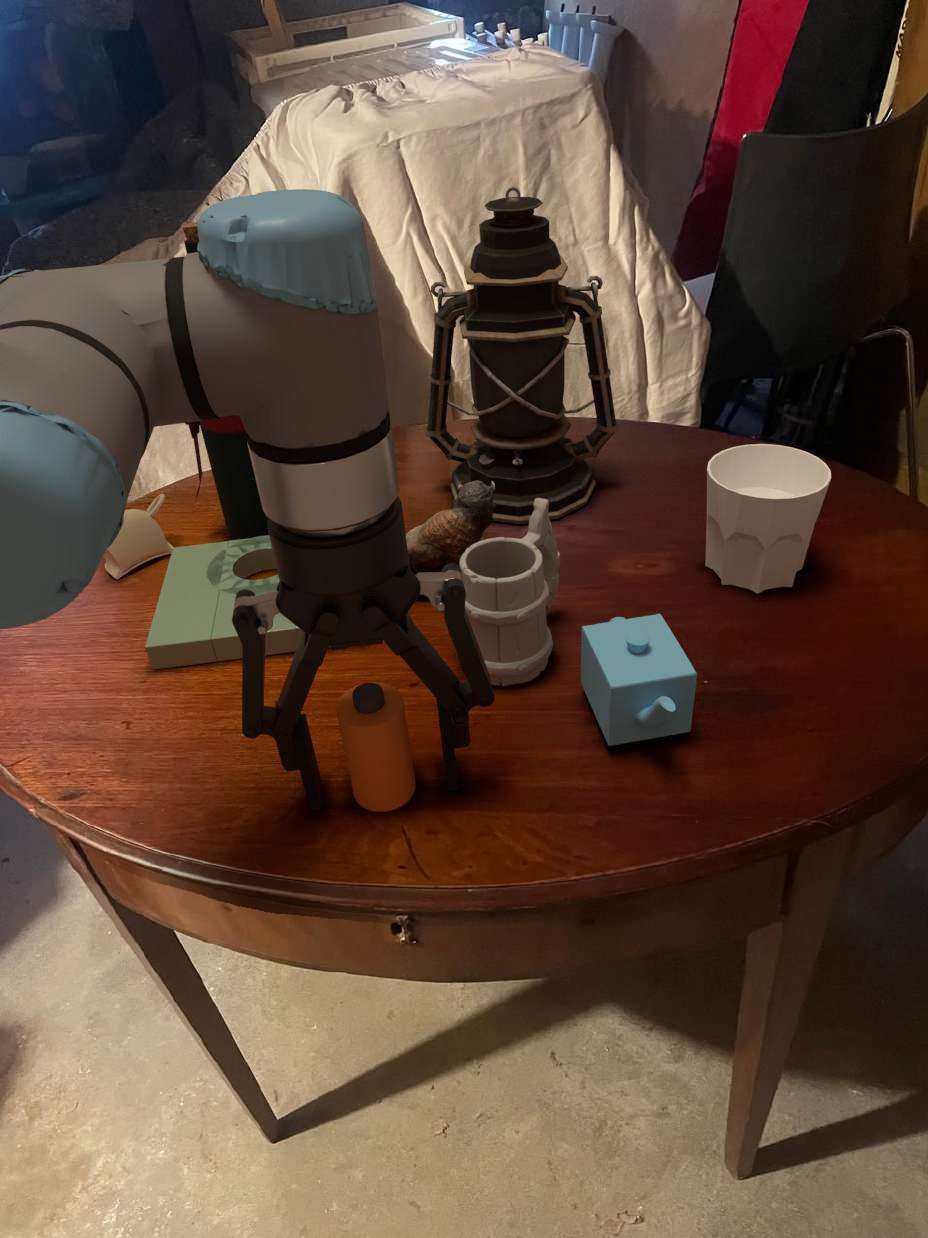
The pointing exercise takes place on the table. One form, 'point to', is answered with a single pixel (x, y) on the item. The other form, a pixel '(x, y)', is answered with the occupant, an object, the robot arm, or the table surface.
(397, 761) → the orange cylinder
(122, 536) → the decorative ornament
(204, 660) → the green peg socket base
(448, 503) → the table surface
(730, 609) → the table surface
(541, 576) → the mug
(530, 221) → the lantern
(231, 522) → the wine bottle
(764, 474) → the cup
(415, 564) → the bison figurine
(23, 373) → the robot arm
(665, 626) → the teapot
